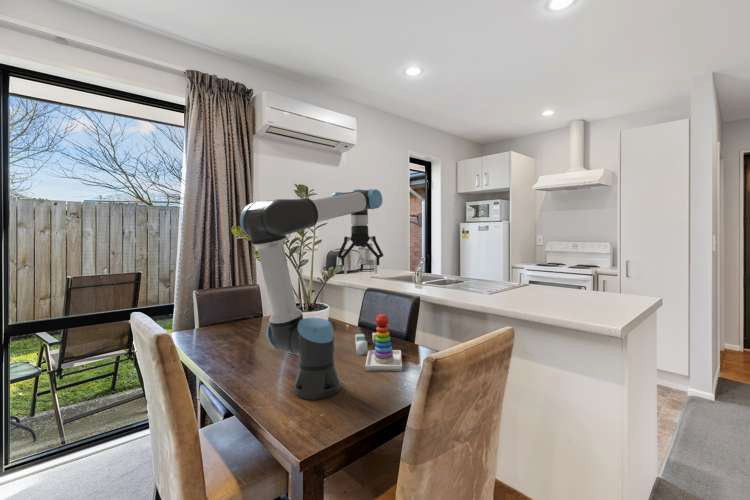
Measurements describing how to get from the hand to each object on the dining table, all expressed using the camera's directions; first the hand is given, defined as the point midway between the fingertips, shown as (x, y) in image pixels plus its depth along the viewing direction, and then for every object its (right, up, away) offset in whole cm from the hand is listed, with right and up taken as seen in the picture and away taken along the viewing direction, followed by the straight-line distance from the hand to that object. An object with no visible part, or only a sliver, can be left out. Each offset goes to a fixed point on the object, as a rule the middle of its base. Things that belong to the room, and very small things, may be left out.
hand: (360, 273), depth 157 cm
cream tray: (+10, -35, -14) cm, 39 cm away
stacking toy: (+10, -35, -14) cm, 39 cm away
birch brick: (+8, -34, +14) cm, 38 cm away
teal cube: (-1, -34, +12) cm, 36 cm away
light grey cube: (+1, -35, -2) cm, 35 cm away
